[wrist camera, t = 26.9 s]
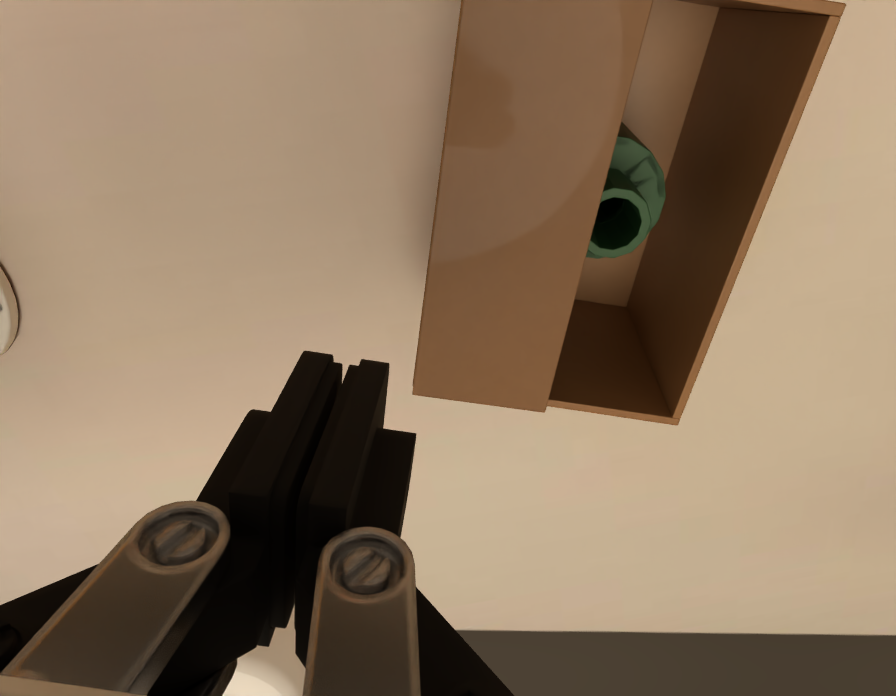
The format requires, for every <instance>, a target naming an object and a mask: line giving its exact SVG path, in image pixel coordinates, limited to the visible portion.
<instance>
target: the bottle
mask: <svg viewBox="0 0 896 696" xmlns="http://www.w3.org/2000/svg"><path fill="white" fill-rule="evenodd" d="M665 199H666V191H665V181H664V173H663V171H662V169H661V167H660V166H659V164H658V162H657V160H656V159H655V157H654V155H653V154H652V152H651V151H650V150H649V149H648V148H647V147H646V146H645V145H644V144H643V143H642V142H641V141H640V140H639V139H638V138H637V137H636V136H635V135H634V134H633V133H632V132H631V131H630V130H629V129H628V127H627V126H626V125H625V124H624V123H622V122H621V125H620V129H619V133H618V136H617V140H616V144H615V148H614V152H613V155H612V159H611V163H610V167H609V171H608V174H607V178H606V182H605V186H604V190H603V194H602V197H601V201H600V205H599V209H598V213H597V216H596V220H595V224H594V228H593V232H592V235H591V239H590V243H589V247H588V251H587V254H586V257H588V258H595V259H600V258H604V257H607V258H616V257H619V256H622V255H625V254H628V253H631V252H633V251H634V250H635V249H636V248H637V247H638V246H639V245H640V244H641V243H642V242H643V241H644V240H645V238H646V236H647V235H648V233H649V232H650V231H651V230H652V228H653V227H654V226H655V225H656V223H657V222H658V220H659V218H660V214H661V211H662V208H663V205H664V202H665Z"/></svg>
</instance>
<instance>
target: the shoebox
mask: <svg viewBox="0 0 896 696" xmlns="http://www.w3.org/2000/svg"><path fill="white" fill-rule="evenodd" d="M462 2H463V0H461V8H460V16H459V24H458V32H457V39H456V47H455V55H454V63H453V71H452V79H451V87H450V95H449V103H448V110H447V118H446V126H445V134H444V142H443V150H442V158H441V166H440V173H439V181H438V189H437V197H436V205H435V213H434V221H435V214H436V206H437V198H438V190H439V182H440V174H441V167H442V159H443V151H444V143H445V135H446V127H447V120H448V112H449V104H450V96H451V88H452V81H453V73H454V65H455V57H456V49H457V41H458V34H459V26H460V18H461V10H462ZM845 6H846V4H845V3H839V2H833V1H827V0H653V3H652V7H651V11H650V15H649V18H648V22H647V26H646V30H645V34H644V37H643V41H642V45H641V49H640V53H639V57H638V60H637V64H636V68H635V72H634V76H633V79H632V83H631V87H630V91H629V95H628V98H627V102H626V106H625V110H624V114H623V117H622V121H621V122H622V123H624V124H625V125H626V126H627V127H628V129H629V130H630V131H631V132H632V133H633V134H634V135H635V136H636V137H637V138H638V139H639V140H640V141H641V142H642V143H643V144H644V145H645V146H646V147H647V148H648V149H649V150H650V151H651V152H652V154H653V155H654V157H655V159H656V160H657V162H658V164H659V166H660V167H661V169H662V171H663V173H664V181H665V191H666V199H665V202H664V205H663V208H662V211H661V214H660V218H659V220H658V222H657V223H656V225H655V226H654V227H653V228H652V230H651V231H650V232H649V233H648V235H647V236H646V238H645V240H644V241H643V242H642V243H641V244H640V245H639V246H638V247H637V248H636V249H635V250H634V251H633V252H631V253H628V254H625V255H622V256H619V257H616V258H607V257H604V258H600V259H595V258H588V257H586V258H585V262H584V266H583V270H582V273H581V277H580V281H579V285H578V289H577V292H576V296H575V300H574V304H573V308H572V311H571V315H570V319H569V323H568V327H567V331H566V334H565V338H564V342H563V346H562V350H561V353H560V357H559V361H558V365H557V369H556V372H555V376H554V380H553V384H552V388H551V391H550V395H549V399H548V403H547V406H551V407H557V408H564V409H571V410H577V411H584V412H591V413H597V414H604V415H611V416H618V417H624V418H631V419H638V420H644V421H651V422H658V423H664V424H671V425H678V423H679V420H680V418H681V415H682V413H683V410H684V408H685V405H686V403H687V401H688V398H689V396H690V393H691V391H692V388H693V386H694V383H695V381H696V378H697V376H698V373H699V371H700V368H701V366H702V363H703V361H704V358H705V356H706V353H707V351H708V348H709V346H710V343H711V341H712V338H713V336H714V333H715V331H716V328H717V326H718V323H719V321H720V318H721V316H722V313H723V311H724V308H725V306H726V303H727V301H728V298H729V296H730V293H731V291H732V288H733V286H734V283H735V281H736V278H737V276H738V273H739V271H740V268H741V266H742V263H743V261H744V258H745V256H746V253H747V251H748V248H749V246H750V243H751V241H752V238H753V236H754V233H755V231H756V228H757V226H758V223H759V221H760V218H761V216H762V213H763V211H764V208H765V206H766V203H767V201H768V198H769V196H770V193H771V191H772V188H773V186H774V183H775V181H776V178H777V176H778V173H779V171H780V168H781V166H782V163H783V161H784V158H785V156H786V153H787V151H788V148H789V146H790V143H791V141H792V138H793V136H794V133H795V131H796V128H797V126H798V123H799V121H800V118H801V116H802V113H803V111H804V108H805V106H806V103H807V101H808V98H809V96H810V93H811V91H812V88H813V86H814V84H815V81H816V79H817V76H818V74H819V71H820V69H821V66H822V64H823V61H824V59H825V56H826V54H827V51H828V49H829V46H830V44H831V41H832V39H833V36H834V34H835V31H836V29H837V26H838V24H839V21H840V19H841V16H842V14H843V11H844V9H845ZM434 221H433V229H434ZM433 229H432V236H431V244H430V252H429V260H430V253H431V245H432V237H433ZM429 260H428V268H429ZM428 268H427V276H428ZM427 276H426V284H427ZM426 284H425V292H426ZM425 292H424V300H425ZM424 300H423V307H424ZM423 307H422V315H423ZM422 315H421V323H422ZM421 323H420V331H421ZM420 331H419V339H420ZM419 339H418V347H419ZM418 347H417V354H418ZM416 362H417V355H416ZM415 370H416V363H415ZM415 370H414V378H415ZM413 386H414V379H413Z"/></svg>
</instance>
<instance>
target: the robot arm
mask: <svg viewBox="0 0 896 696" xmlns="http://www.w3.org/2000/svg"><path fill="white" fill-rule="evenodd" d="M17 329H18V309H17V303H16V298H15V296H14V293H13V290H12V288H11V285H10V283H9V281H8V279H7V277H6V276H5V274H4V272H3V271H2V269H1V267H0V356H1V355H2V354H3V353H5V352H6V351H7V350H8V348H9V347H10V345H11V344H12V342H13V341H14V339H15V335H16V332H17ZM388 376H389V363H384V362H378V361H371V360H364V359H362V360H361V362H360V364H359V366H355V365H349V367H348V370H347V373H346V375H345V378H344V380H343V383H342V363H335V362H333V355H331V354H324V353H318V352H311V351H304V352H303V353H302V355H301V357H300V358H299V360H298V362H297V364H296V366H295V368H294V370H293V372H292V373H291V375H290V377H289V379H288V381H287V383H286V385H285V387H284V388H283V390H282V392H281V394H280V396H279V398H278V400H277V402H276V403H275V405H274V407H273V409H272V411H271V412H268V411H261V410H254V409H253V410H250V411H249V412H248V414H247V415H246V417H245V418H244V420H243V422H242V423H241V425H240V427H239V429H238V430H237V432H236V434H235V435H234V437H233V439H232V440H231V442H230V444H229V446H228V447H227V449H226V451H225V452H224V454H223V456H222V457H221V459H220V461H219V463H218V464H217V466H216V468H215V469H214V471H213V473H212V474H211V476H210V478H209V480H208V481H207V483H206V485H205V486H204V488H203V490H202V492H201V493H200V495H199V497H198V498H197V500H196V501H181V502H174V503H171V504H167V505H164V506H161V507H159V508H157V509H155V510H153V511H151V512H149V513H147V514H146V515H145V516H144V517H143V518H141V519H140V520H139V521H138V522H137V523H136V524H135V525H134V526H133V527H132V528H131V529H130V530H129V531H128V533H127V534H126V535H125V536H124V537H123V538H122V539H121V540H120V541H119V542H118V544H117V545H116V546H115V547H114V548H113V549H112V550H111V551H110V552H109V554H108V555H107V556H106V557H105V558H104V559H103V560H102V561H101V562H100V564H97V565H95V566H93V567H90V568H88V569H85V570H83V571H81V572H78V573H76V574H74V575H71V576H69V577H66V578H64V579H62V580H59V581H57V582H55V583H52V584H50V585H47V586H45V587H43V588H40V589H38V590H36V591H33V592H31V593H28V594H26V595H24V596H21V597H19V598H17V599H14V600H12V601H9V602H7V603H5V604H2V605H0V696H222V695H223V694H224V692H225V690H226V688H227V686H228V684H229V683H230V681H231V679H232V677H233V675H234V672H235V669H236V667H237V658H239V657H241V656H243V655H244V654H246V653H248V652H250V651H251V650H253V649H255V648H256V647H257V645H258V646H265V647H269V645H270V642H271V639H272V636H273V634H274V631H275V628H276V627H277V628H284V629H285V628H286V627H287V625H288V622H289V619H290V616H291V613H292V610H293V607H294V604H295V611H294V629H295V630H296V636H295V654H296V655H297V657H298V658H299V660H300V661H301V663H302V664H303V666H304V667H305V669H306V670H305V678H304V686H303V695H302V696H514V695H513V694H512V693H511V692H510V690H509V689H508V688H507V687H506V686H505V685H504V684H503V683H502V682H501V680H500V679H499V678H498V677H497V676H496V675H495V674H494V673H493V672H492V670H491V669H490V668H489V667H488V666H487V665H486V664H485V663H484V662H483V661H482V659H481V658H480V657H479V656H478V655H477V654H476V653H475V652H474V651H473V649H472V648H471V647H470V646H469V645H468V644H467V643H466V642H465V641H464V639H463V638H462V637H461V636H460V635H459V634H458V633H457V632H456V631H455V629H454V628H453V627H452V626H451V625H450V624H449V623H448V622H447V621H446V620H445V618H444V617H443V616H442V615H441V614H440V613H439V612H438V611H437V610H436V608H435V607H434V606H433V605H432V604H431V603H430V602H429V601H428V600H427V598H426V597H425V596H424V595H423V594H422V593H421V592H420V591H419V590H418V589H417V587H416V581H415V563H414V559H413V555H412V552H411V550H410V549H409V547H408V546H407V544H406V543H405V542H404V541H403V540H402V539H401V538H400V537H401V531H402V525H403V520H404V514H405V508H406V502H407V496H408V490H409V484H410V477H411V470H412V463H413V456H414V449H415V441H416V433H409V432H403V431H396V430H389V429H383V425H384V415H385V405H386V396H387V386H388Z"/></svg>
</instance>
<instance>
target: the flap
mask: <svg viewBox="0 0 896 696" xmlns="http://www.w3.org/2000/svg"><path fill="white" fill-rule="evenodd" d="M652 3H653V0H463V2H462V10H461V18H460V26H459V34H458V41H457V49H456V57H455V65H454V73H453V81H452V88H451V96H450V104H449V112H448V120H447V127H446V135H445V143H444V151H443V159H442V167H441V174H440V182H439V190H438V198H437V206H436V214H435V221H434V229H433V237H432V245H431V253H430V260H429V268H428V276H427V284H426V292H425V300H424V307H423V315H422V323H421V331H420V339H419V347H418V354H417V362H416V370H415V378H414V386H413V395H418V396H426V397H433V398H440V399H448V400H455V401H463V402H470V403H477V404H485V405H492V406H500V407H507V408H514V409H522V410H529V411H537V412H545V410H546V407H547V403H548V399H549V395H550V391H551V388H552V384H553V380H554V376H555V372H556V369H557V365H558V361H559V357H560V353H561V350H562V346H563V342H564V338H565V334H566V331H567V327H568V323H569V319H570V315H571V311H572V308H573V304H574V300H575V296H576V292H577V289H578V285H579V281H580V277H581V273H582V270H583V266H584V262H585V258H586V254H587V251H588V247H589V243H590V239H591V235H592V232H593V228H594V224H595V220H596V216H597V213H598V209H599V205H600V201H601V197H602V194H603V190H604V186H605V182H606V178H607V174H608V171H609V167H610V163H611V159H612V155H613V152H614V148H615V144H616V140H617V136H618V133H619V129H620V125H621V121H622V117H623V114H624V110H625V106H626V102H627V98H628V95H629V91H630V87H631V83H632V79H633V76H634V72H635V68H636V64H637V60H638V57H639V53H640V49H641V45H642V41H643V37H644V34H645V30H646V26H647V22H648V18H649V15H650V11H651V7H652Z"/></svg>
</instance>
